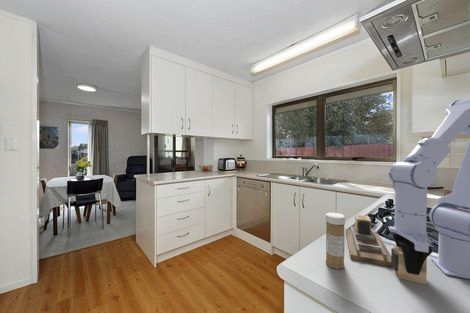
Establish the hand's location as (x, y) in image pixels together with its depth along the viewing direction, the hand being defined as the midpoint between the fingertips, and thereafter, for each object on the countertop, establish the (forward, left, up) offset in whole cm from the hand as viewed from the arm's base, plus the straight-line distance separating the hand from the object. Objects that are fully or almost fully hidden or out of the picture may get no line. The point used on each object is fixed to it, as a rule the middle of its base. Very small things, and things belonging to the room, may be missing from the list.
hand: (409, 267), depth 48 cm
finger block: (0, 0, -2) cm, 2 cm away
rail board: (+7, -13, -2) cm, 15 cm away
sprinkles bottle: (+16, +2, -2) cm, 16 cm away
